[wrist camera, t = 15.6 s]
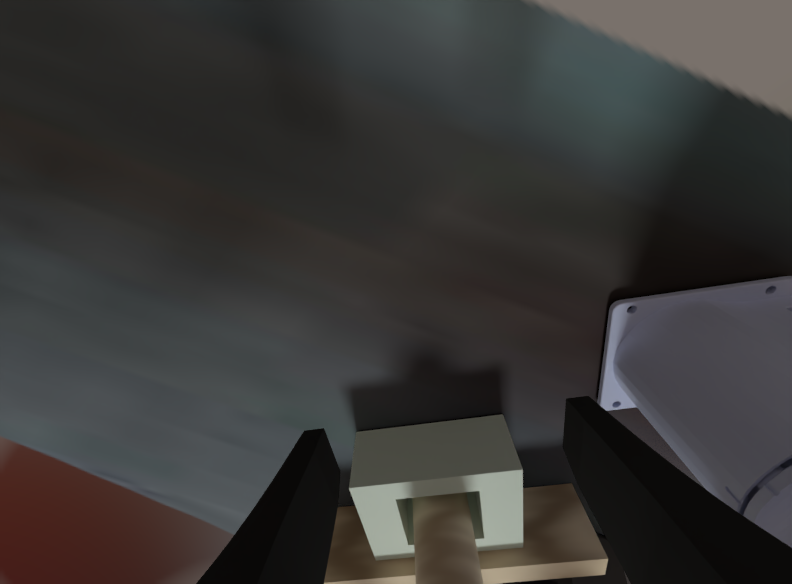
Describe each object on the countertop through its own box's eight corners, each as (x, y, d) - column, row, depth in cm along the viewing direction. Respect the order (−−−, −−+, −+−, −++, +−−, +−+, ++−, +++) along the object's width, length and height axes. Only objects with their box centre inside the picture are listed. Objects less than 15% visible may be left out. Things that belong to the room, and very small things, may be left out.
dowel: (459, 448, 23) (486, 593, 16) (463, 481, 25) (490, 626, 18) (407, 454, 24) (412, 599, 16) (415, 486, 25) (422, 631, 18)
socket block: (502, 414, 22) (522, 469, 19) (505, 488, 26) (523, 547, 22) (356, 431, 23) (348, 488, 20) (378, 502, 27) (375, 560, 23)
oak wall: (571, 483, 26) (608, 558, 21) (570, 499, 27) (605, 574, 22) (318, 509, 27) (303, 584, 23) (325, 523, 28) (312, 598, 24)
